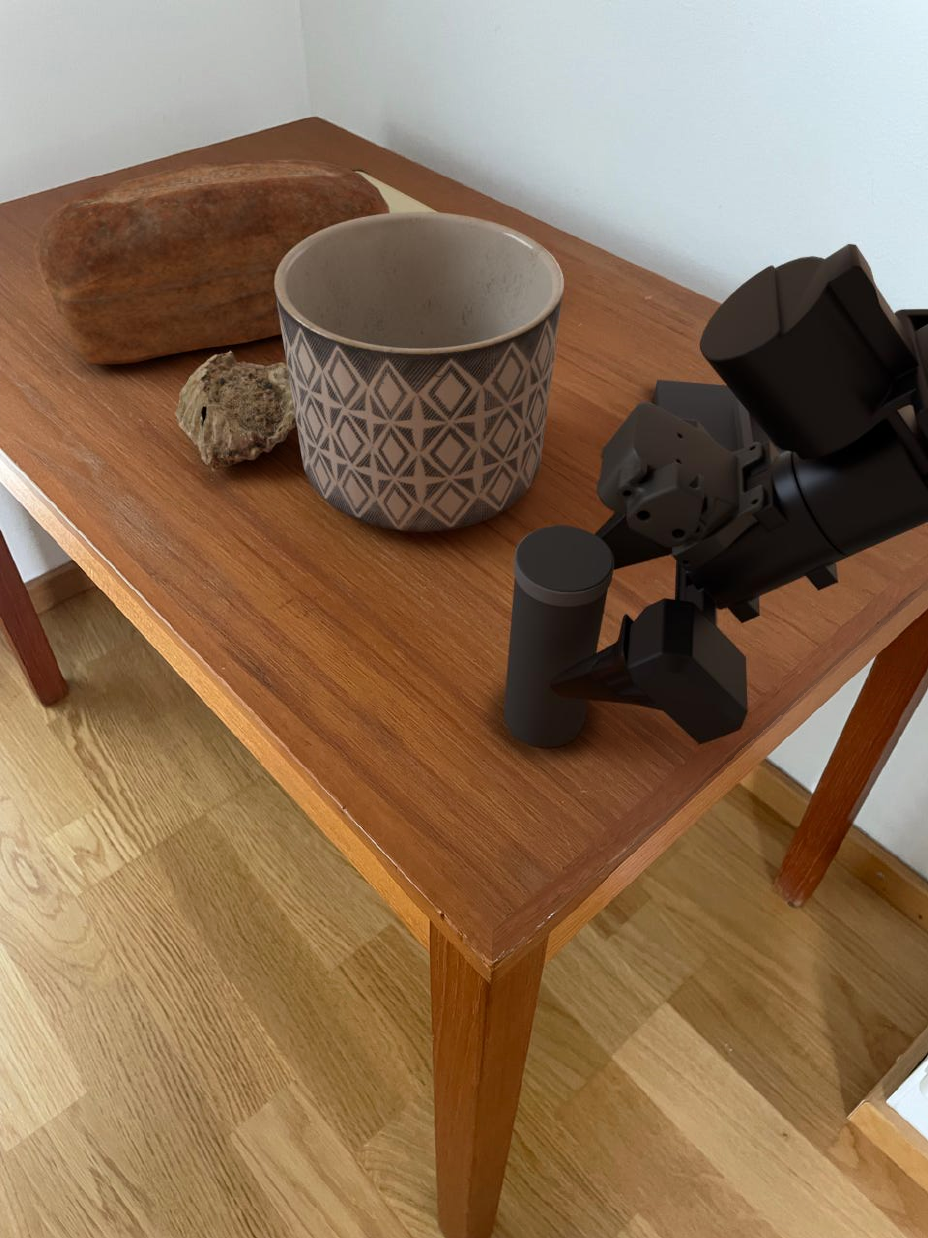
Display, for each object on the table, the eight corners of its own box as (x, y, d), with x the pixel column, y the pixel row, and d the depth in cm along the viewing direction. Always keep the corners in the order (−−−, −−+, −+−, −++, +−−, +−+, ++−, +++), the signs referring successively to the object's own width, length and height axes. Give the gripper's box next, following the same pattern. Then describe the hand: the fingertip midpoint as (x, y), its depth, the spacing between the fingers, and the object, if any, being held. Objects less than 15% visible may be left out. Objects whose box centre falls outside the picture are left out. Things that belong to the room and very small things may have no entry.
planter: (285, 416, 81) (259, 223, 69) (505, 388, 84) (517, 200, 72) (319, 571, 68) (294, 368, 56) (576, 531, 72) (604, 332, 60)
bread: (408, 322, 92) (405, 178, 82) (73, 386, 83) (24, 234, 74) (368, 264, 99) (360, 126, 89) (57, 318, 91) (11, 172, 81)
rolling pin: (543, 310, 94) (547, 261, 90) (499, 328, 91) (502, 279, 88) (356, 195, 111) (353, 150, 107) (314, 208, 108) (310, 162, 105)
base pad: (828, 408, 83) (839, 378, 81) (856, 522, 73) (869, 491, 71) (654, 393, 84) (660, 363, 82) (657, 504, 74) (664, 473, 72)
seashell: (199, 505, 77) (305, 473, 74) (142, 443, 72) (253, 406, 69) (229, 413, 84) (327, 379, 81) (179, 350, 79) (282, 312, 76)
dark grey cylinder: (589, 689, 62) (618, 530, 52) (581, 755, 58) (611, 598, 48) (508, 677, 62) (521, 517, 52) (496, 742, 59) (508, 584, 49)
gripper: (725, 276, 48) (493, 432, 57) (728, 521, 35) (430, 671, 44) (839, 428, 52) (609, 549, 62) (878, 691, 40) (581, 794, 49)
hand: (563, 626), depth 54 cm, fingers open, 9 cm apart
